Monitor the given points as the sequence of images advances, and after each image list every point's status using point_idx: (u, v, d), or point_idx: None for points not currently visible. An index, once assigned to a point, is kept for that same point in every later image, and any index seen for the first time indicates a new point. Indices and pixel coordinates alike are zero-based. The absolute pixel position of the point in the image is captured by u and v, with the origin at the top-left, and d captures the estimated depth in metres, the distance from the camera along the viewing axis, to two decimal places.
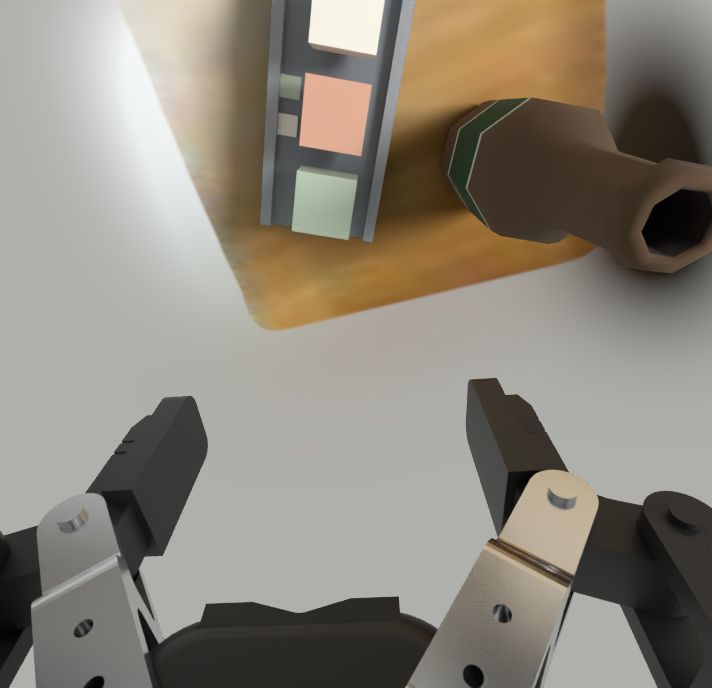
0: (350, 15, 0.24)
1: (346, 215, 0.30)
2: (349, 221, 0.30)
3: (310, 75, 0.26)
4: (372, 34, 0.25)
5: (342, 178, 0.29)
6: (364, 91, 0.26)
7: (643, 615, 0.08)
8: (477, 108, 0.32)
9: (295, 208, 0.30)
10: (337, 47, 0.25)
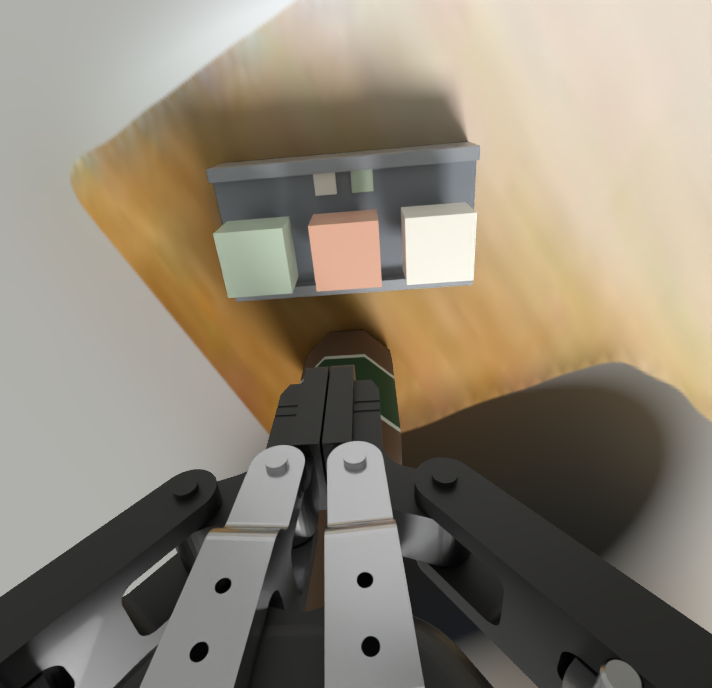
0: (433, 254, 0.25)
1: (253, 290, 0.27)
2: (248, 294, 0.27)
3: (376, 226, 0.25)
4: (422, 277, 0.26)
5: (289, 277, 0.26)
6: (374, 281, 0.26)
7: (446, 574, 0.09)
8: (384, 352, 0.35)
9: (240, 233, 0.25)
10: (406, 247, 0.25)
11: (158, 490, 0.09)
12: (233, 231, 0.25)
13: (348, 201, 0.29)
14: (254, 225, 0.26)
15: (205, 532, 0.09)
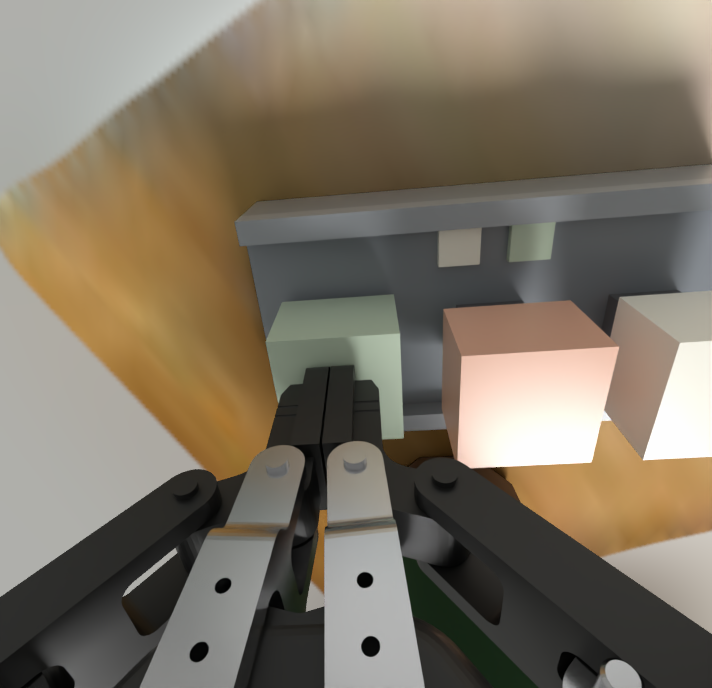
0: None
1: None
2: None
3: (612, 357, 0.11)
4: (679, 448, 0.13)
5: (401, 413, 0.14)
6: (579, 453, 0.13)
7: (446, 574, 0.09)
8: None
9: (318, 342, 0.13)
10: (662, 395, 0.12)
11: (158, 490, 0.09)
12: (304, 337, 0.13)
13: (497, 275, 0.15)
14: (339, 319, 0.14)
15: (205, 532, 0.09)
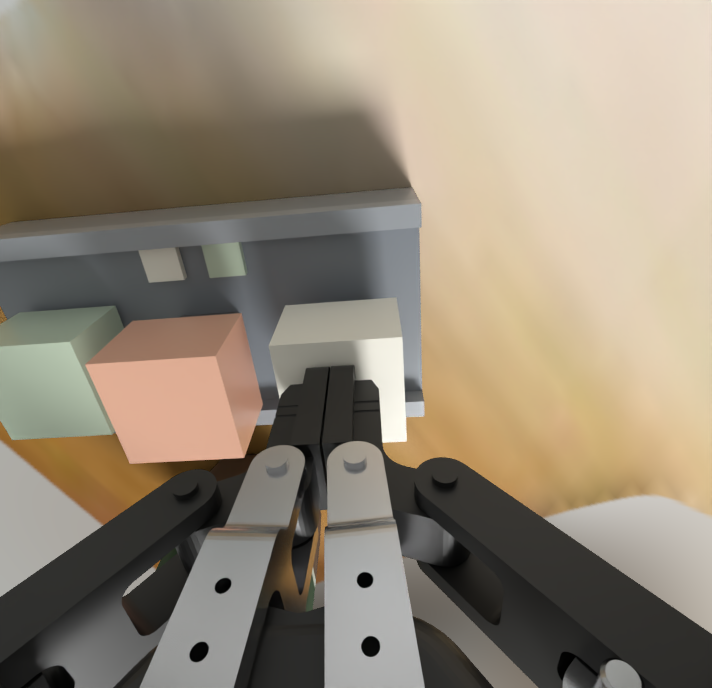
0: None
1: (48, 430, 0.16)
2: (42, 435, 0.17)
3: (214, 365, 0.13)
4: None
5: (102, 412, 0.16)
6: (229, 450, 0.14)
7: (446, 574, 0.09)
8: None
9: (2, 350, 0.15)
10: (279, 390, 0.14)
11: (158, 490, 0.09)
12: None
13: (209, 289, 0.17)
14: (41, 329, 0.16)
15: (205, 532, 0.09)
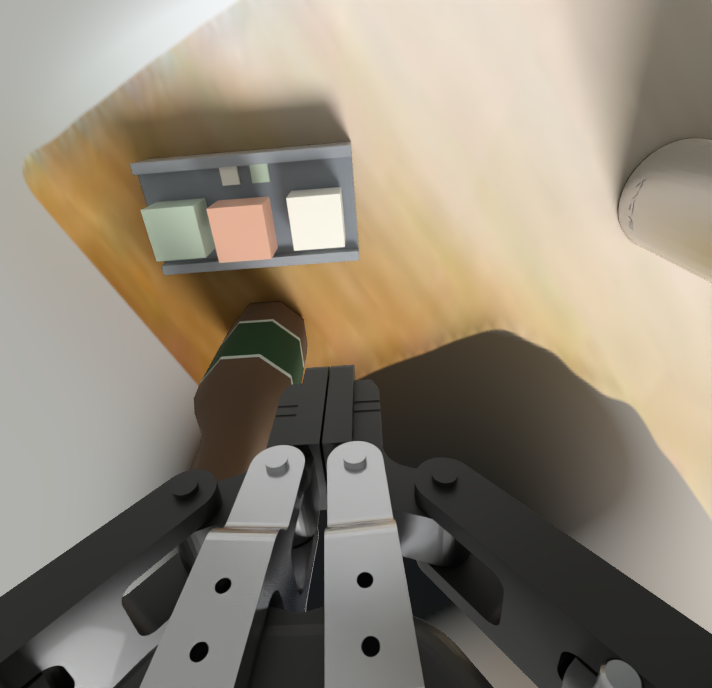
0: (311, 226, 0.33)
1: (175, 255, 0.34)
2: (172, 258, 0.34)
3: (261, 208, 0.31)
4: (305, 244, 0.34)
5: (202, 245, 0.34)
6: (265, 254, 0.33)
7: (446, 574, 0.09)
8: (296, 320, 0.42)
9: (161, 210, 0.33)
10: (290, 220, 0.33)
11: (158, 490, 0.09)
12: (156, 208, 0.33)
13: (251, 190, 0.35)
14: (174, 204, 0.34)
15: (205, 532, 0.09)
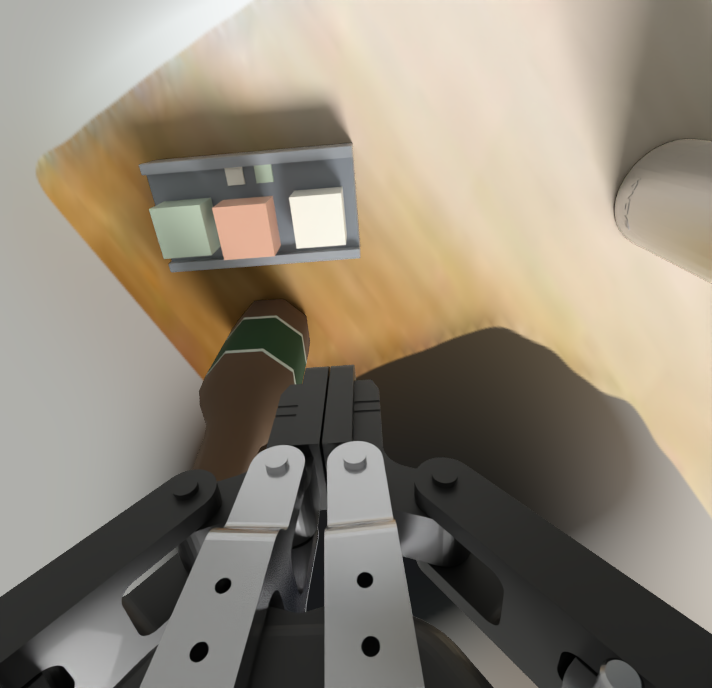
0: (313, 225, 0.34)
1: (182, 253, 0.35)
2: (178, 256, 0.36)
3: (264, 207, 0.32)
4: (307, 242, 0.35)
5: (208, 243, 0.35)
6: (268, 251, 0.34)
7: (446, 574, 0.09)
8: (299, 316, 0.43)
9: (168, 209, 0.34)
10: (292, 219, 0.34)
11: (158, 490, 0.09)
12: (164, 207, 0.34)
13: (255, 190, 0.36)
14: (181, 203, 0.35)
15: (205, 532, 0.09)
